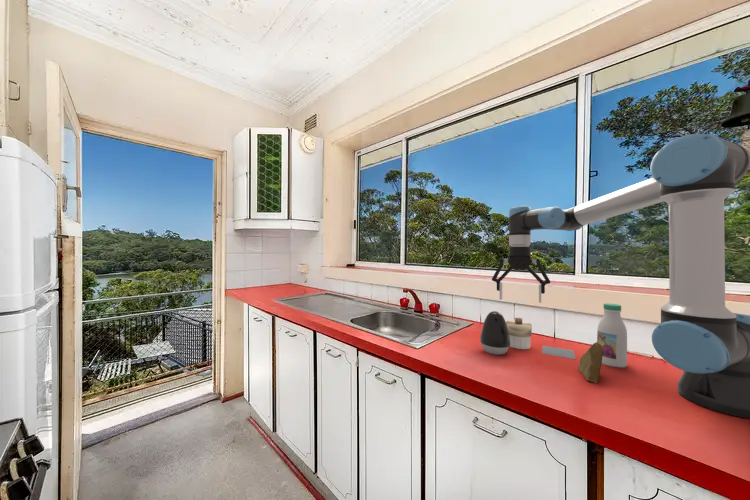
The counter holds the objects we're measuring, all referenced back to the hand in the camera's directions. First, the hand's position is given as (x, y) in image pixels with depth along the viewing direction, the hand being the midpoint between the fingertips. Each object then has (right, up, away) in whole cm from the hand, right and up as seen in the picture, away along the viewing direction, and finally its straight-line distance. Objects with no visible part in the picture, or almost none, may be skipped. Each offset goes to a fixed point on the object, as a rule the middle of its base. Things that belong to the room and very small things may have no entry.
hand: (519, 300), depth 110 cm
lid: (0, -13, +1) cm, 13 cm away
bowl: (0, -18, +1) cm, 18 cm away
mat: (+11, -18, -6) cm, 22 cm away
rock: (+8, -19, -24) cm, 32 cm away
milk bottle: (+23, -19, -16) cm, 33 cm away
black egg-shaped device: (-12, -18, -6) cm, 23 cm away
